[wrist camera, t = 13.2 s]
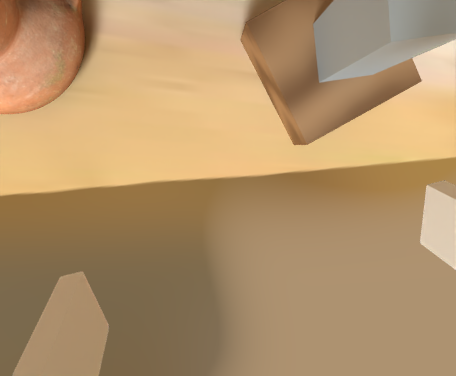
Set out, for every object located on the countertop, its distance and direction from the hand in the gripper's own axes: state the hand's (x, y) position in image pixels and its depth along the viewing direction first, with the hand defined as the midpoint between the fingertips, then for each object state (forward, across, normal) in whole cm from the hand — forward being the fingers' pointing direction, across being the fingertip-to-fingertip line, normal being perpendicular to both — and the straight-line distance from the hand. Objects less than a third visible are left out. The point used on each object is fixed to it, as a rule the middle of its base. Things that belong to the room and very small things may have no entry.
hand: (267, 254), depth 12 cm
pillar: (+18, +13, +5) cm, 23 cm away
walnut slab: (+23, +13, +4) cm, 27 cm away
